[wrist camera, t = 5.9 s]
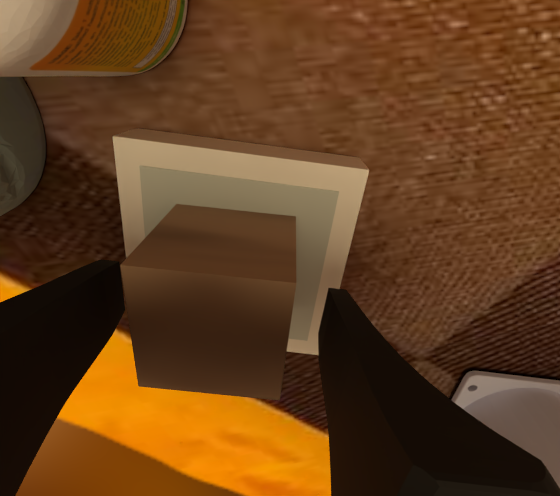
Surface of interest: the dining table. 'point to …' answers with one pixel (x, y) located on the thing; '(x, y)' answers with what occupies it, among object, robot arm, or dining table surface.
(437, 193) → the dining table surface
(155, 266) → the walnut block
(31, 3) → the supplement bottle
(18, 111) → the green plant pot
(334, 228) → the tile base
